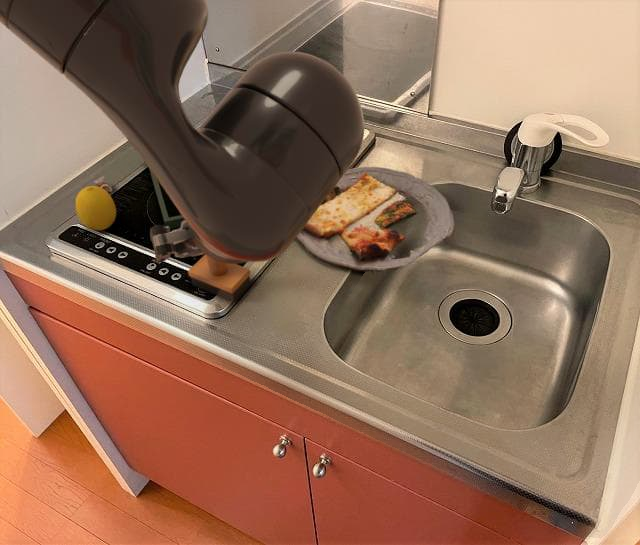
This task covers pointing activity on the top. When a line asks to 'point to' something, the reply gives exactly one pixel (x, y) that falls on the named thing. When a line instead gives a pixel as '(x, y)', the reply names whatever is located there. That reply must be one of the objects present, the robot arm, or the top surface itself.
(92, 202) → the lemon
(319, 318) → the top surface
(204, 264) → the brush
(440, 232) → the food plate
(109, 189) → the pale curved piece
